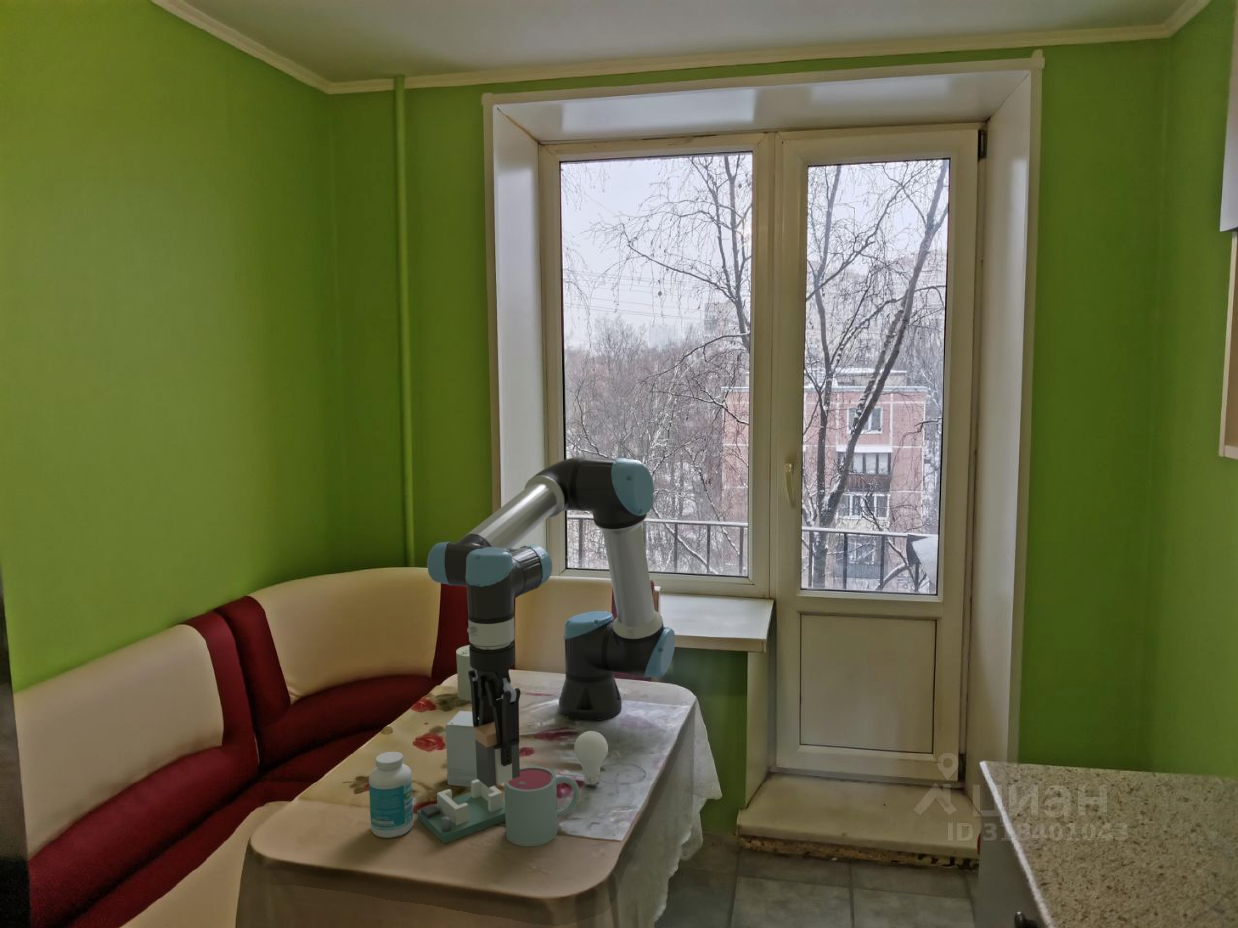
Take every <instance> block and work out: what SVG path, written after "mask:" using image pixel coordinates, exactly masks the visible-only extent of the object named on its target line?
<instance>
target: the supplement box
mask: <svg viewBox="0 0 1238 928" xmlns="http://www.w3.org/2000/svg"><path fill="white" fill-rule="evenodd" d="M478 719H479V718H478ZM475 728H476V727H474V726H473V718H472V711H466V710H465V711H464V710H459V711H458V712H457V713H456V714H455V715H454V716H453V717H452V718H451V719H450V720H449V721H448V722H447V724H445V738H446V739H445V740H446V742H445V745H446V771H447V772H446V775H447V776H446V777H447V785H448V786H458V787H465V788H466V787H467V788H471V781H473V780H476V779H477V766H476V744H475Z"/></svg>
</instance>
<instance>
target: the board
mask: <svg viewBox="0 0 1238 928" xmlns="http://www.w3.org/2000/svg"><path fill="white" fill-rule="evenodd" d="M470 788H471V789H470V791H468V792H466V793H463V794H460V795H458V796H454V797H453V792H452V790H451V789H450V788H448V789H444V790H442V791H439V792H437V793H436V800H437V801H436V802H437V803H435V804H434V803H431V804H428V805H425V806H423V807H420V809H417V810H416V812H417V813H416V814H417V815H416V817H417V819H418V820H419V821H420V822H421V823H422V824H423V825H424V826H425V827H426V828H427V829H428V830H429V831H430V832H431V833H432V834H434V836H436V837H437V839H438V840H440V842H441V843H443V844H444V845H445V844H448V843H450V842H451V843H452V842H453V841H456V840H459V839H461V838H463V837H465V836H469V835H471V834H474V833H477V832H479V831H482V830H484V829H487V828H489V827H492V826H495V825H497V824H500V823H503V822H506V820H505V800H504V799H503V798H504V797H503V796H504V795H503V792H502V791H501V790H500V789H498V787H496V785H495V786H492V787H490V788H488V787H487V786H486V785H485V784H483V783H482V782H481V781H479V780H478V779H476V780H473V781H471V787H470Z"/></svg>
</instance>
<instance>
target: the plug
mask: <svg viewBox="0 0 1238 928" xmlns="http://www.w3.org/2000/svg"><path fill="white" fill-rule="evenodd" d="M475 744H476V766H477V779H478V780H479V781H481V782H482V783H483V784H485V785H486V786H487V787H488V788H490V787H492V786H495V787H496V786H499V785H498V784H496V769H495V748H494V746H493V745H496V744H497V737H496V730H495V723H494V722H492V723H489V724H486V725H482V726H479V727H476V728H475ZM511 750H512V779H514V778H517V777H520V768H521V766H520V765H521V764H520V743H519V744H517V745H514V746H512V747H511Z"/></svg>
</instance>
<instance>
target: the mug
mask: <svg viewBox="0 0 1238 928" xmlns="http://www.w3.org/2000/svg"><path fill="white" fill-rule="evenodd" d="M503 784H504V786H503V787H504V802H505V836H506V839H507V840H508V841H509V842H511V844H513V845H514V844H515V845H518V846H521V847H537V846H541V845H545V844H547V843H549V842H550V841H551V842H552V840H553V839H554V838H556V836H557V834H558V831H559V830H558V817H564V816H567V815H568V814H569V813H571V812H573V810H574V809H575V808H576V806H577V804H578V802H579V800H580V794H581V793H580V787H579V785H578V782H577V781H575V779H573V778H572V777H571V776H567V775H563V776H557V775H556V772H554V771H553V770H552V769H550V768H547V767H546V766H545V767H544V766H538V765H529V766H522V767H520V777H517V778H514V779H512V780H510V781H508V782H505V783H503ZM559 784H567V785H569V786H570V787H571V788H572V792H573V795H572V799H571V800H570V802H569V804H568V805H567V806H565V807H564V808H560V809H558V799H557V798H558V797H557V796H558V794H557V786H558V785H559Z"/></svg>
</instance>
